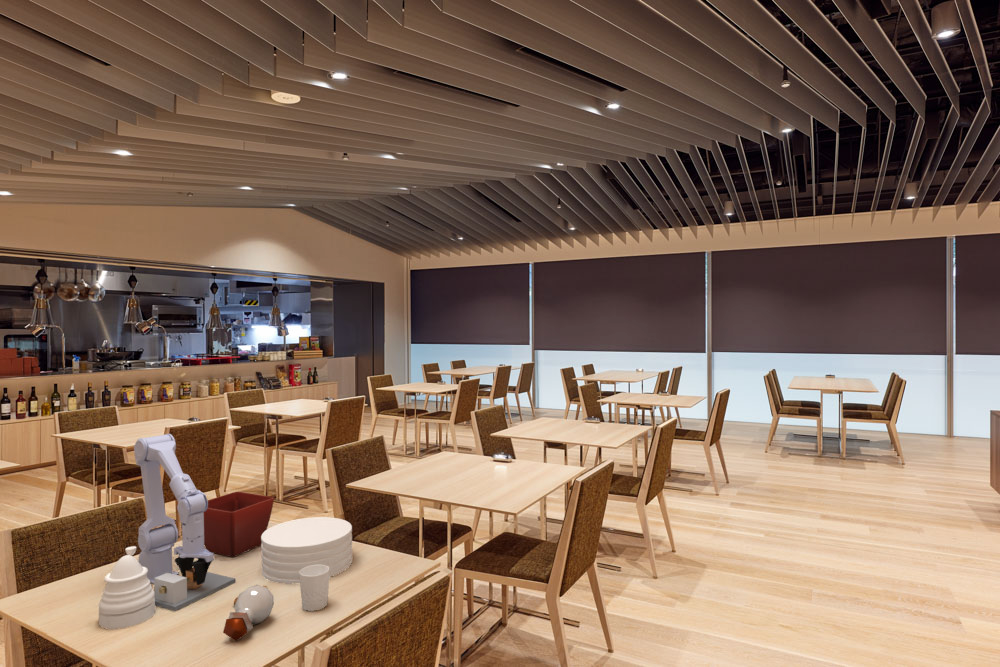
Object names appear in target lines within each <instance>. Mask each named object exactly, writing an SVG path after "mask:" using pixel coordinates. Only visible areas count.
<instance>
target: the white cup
mask: <svg viewBox="0 0 1000 667" xmlns="http://www.w3.org/2000/svg"><path fill="white" fill-rule="evenodd" d="M329 584H330V578H329V567H328V566H326V565H311V566H307V567H305V568H303V569H301V570H300V584H299V588H300V598H301V607H302V609H303V611H306V610H308V611H307V612H315V611H314V610H317V611H320V610H319V609H321V610H323V609H324V607H325V606H326V607H327V605H328V604H329V602H328V601H329V586H330V585H329ZM326 607H325V608H326ZM322 608H323V609H322Z"/></svg>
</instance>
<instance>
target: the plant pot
mask: <svg viewBox="0 0 1000 667" xmlns="http://www.w3.org/2000/svg"><path fill="white" fill-rule="evenodd" d="M207 500H208V508H207V510H206V511H205V512H204V548H205V549H206V550H208V551H209V552H211V553H214V554H217V555H222V556H227V557H230V558H232V557H237V556H239V555H241V553H242V554H244V553H246V552H248V550H249V551H250V550H253V549H255V548H257V546H258V547H259V546H261V544H262V542H261V536H262V534H263V532H264V531H266V530H267V529H268V526H269V523H270V519H271V515H272V512H273V511H272V510H273V506H274V502H275V501H274V500H275V498H274V496H268V495H262V494H255V493H248V492H242V491H235V492H231V493H227V494H224V495H220V496H217V497H214V498H211V499H207Z"/></svg>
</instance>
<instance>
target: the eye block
mask: <svg viewBox="0 0 1000 667" xmlns="http://www.w3.org/2000/svg"><path fill="white" fill-rule="evenodd" d="M235 583H236V578H235V577H231V576H227V575H222V574H218V573H214V572H210V571H207V574H206V578H205V582H204V583H202V586H200V587H198V588H195V589H189V588H187V578H186V577H182V575H179V574H178V575H174V574H170V573H165V574H163V575H161V576H158V577H156V578H154V583H153V590H154V593H155V595H154V597H155V598H154V599H155V607H159V608H162V609H167V610H169V611H173V612H177V611H179V610H181V609H184V608H185V607H187V606H190V605H191V604H193V603H196V602H198V601H200V600H202V599H204V598H207V597H208V596H210V595H212V594H214V593H216V592H218V591H221V590H222V589H225V588H227V587H230V585H233V584H235ZM163 586H166V587H167V592H166V593H163V594H161V593H159V588H160V587H163Z"/></svg>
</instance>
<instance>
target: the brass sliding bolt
mask: <svg viewBox="0 0 1000 667" xmlns="http://www.w3.org/2000/svg"><path fill="white" fill-rule="evenodd" d="M186 578H187V588H189V589H195V588H198V587H200V586H202V584H200V585H197V583H196V575H195V570H194V568H193V567H192V568H191V569H189V570H186ZM166 592H167V587H166V586H163V587H160V588H159V593H161V594H163V593H166Z"/></svg>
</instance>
